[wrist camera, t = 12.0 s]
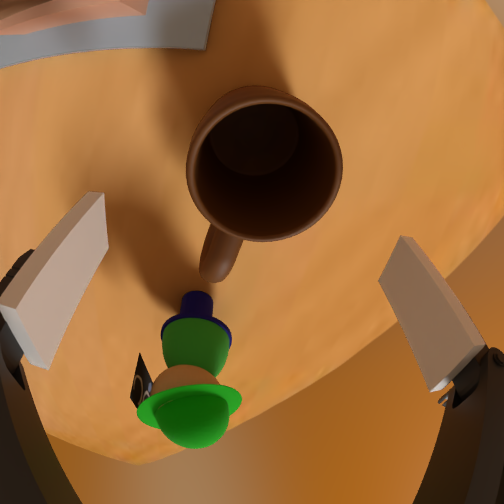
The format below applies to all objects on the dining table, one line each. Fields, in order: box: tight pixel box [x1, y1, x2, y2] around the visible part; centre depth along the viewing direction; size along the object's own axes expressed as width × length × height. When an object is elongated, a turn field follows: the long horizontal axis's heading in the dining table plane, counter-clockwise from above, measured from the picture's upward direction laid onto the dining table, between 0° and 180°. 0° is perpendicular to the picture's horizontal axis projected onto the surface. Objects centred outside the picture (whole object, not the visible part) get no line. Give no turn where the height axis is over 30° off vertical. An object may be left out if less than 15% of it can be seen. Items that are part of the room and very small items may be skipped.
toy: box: [130, 291, 242, 449], centre depth 25 cm, size 9×9×15 cm
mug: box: [186, 86, 343, 283], centre depth 18 cm, size 12×8×9 cm, turn 155°
